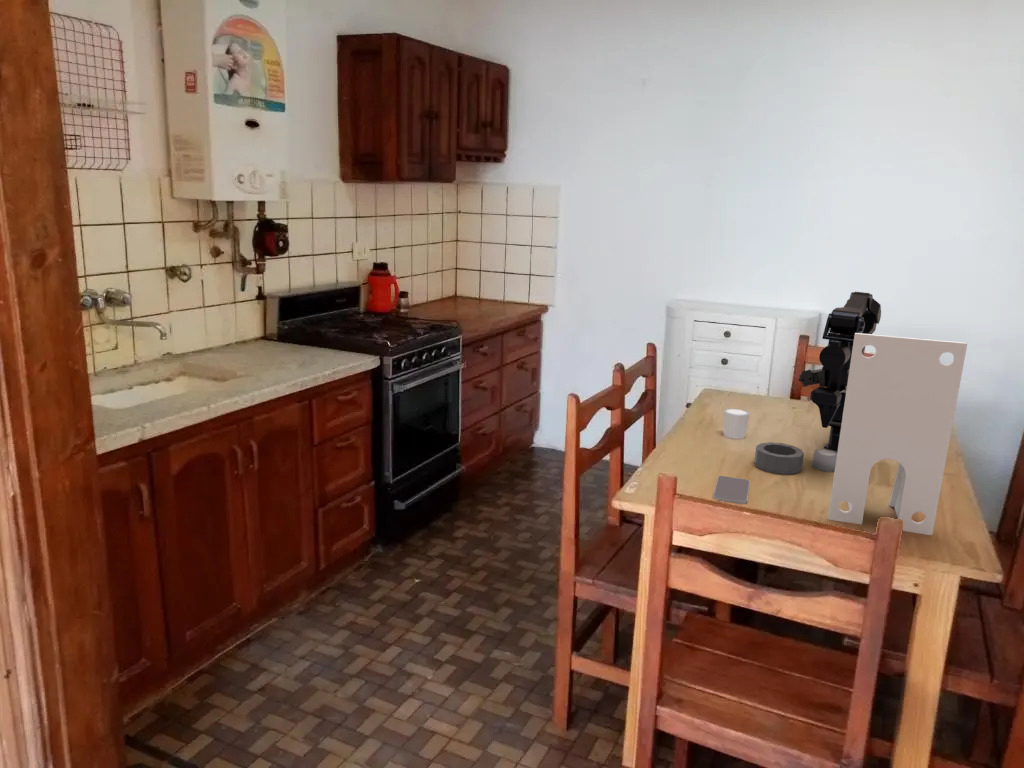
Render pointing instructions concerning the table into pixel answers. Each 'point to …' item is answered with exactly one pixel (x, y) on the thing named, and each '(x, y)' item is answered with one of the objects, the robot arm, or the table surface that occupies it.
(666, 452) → the table surface
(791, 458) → the grey ring
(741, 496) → the grey square plate
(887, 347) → the white bracket plate
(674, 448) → the table surface
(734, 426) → the white cylinder
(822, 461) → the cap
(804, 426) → the table surface
